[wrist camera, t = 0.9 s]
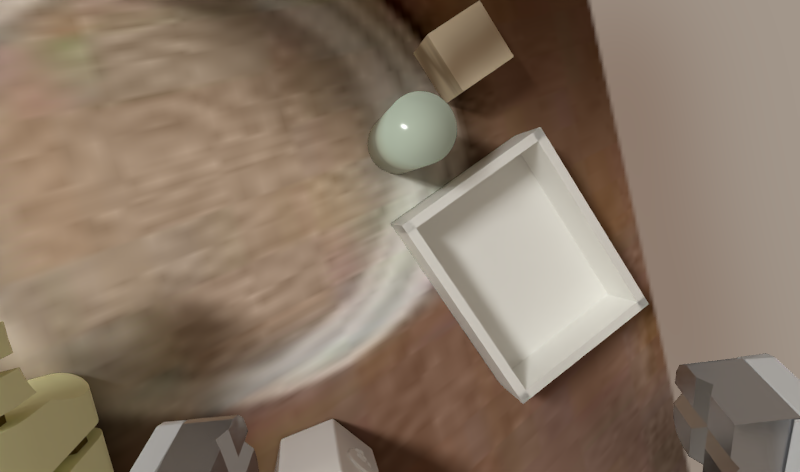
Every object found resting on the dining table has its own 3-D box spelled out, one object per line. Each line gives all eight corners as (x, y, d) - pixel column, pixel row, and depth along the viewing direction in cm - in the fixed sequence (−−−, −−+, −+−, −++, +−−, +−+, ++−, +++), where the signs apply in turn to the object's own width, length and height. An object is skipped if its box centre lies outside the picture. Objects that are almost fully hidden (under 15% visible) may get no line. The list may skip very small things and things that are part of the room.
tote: (390, 223, 45) (401, 225, 40) (514, 135, 46) (540, 126, 42) (499, 383, 47) (523, 403, 43) (613, 294, 49) (648, 304, 44)
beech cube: (412, 53, 45) (427, 34, 40) (459, 22, 45) (479, 0, 40) (445, 104, 45) (463, 91, 40) (490, 73, 46) (513, 56, 41)
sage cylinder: (355, 135, 44) (370, 117, 35) (404, 103, 44) (430, 77, 36) (389, 185, 45) (412, 179, 36) (436, 152, 45) (470, 139, 36)
